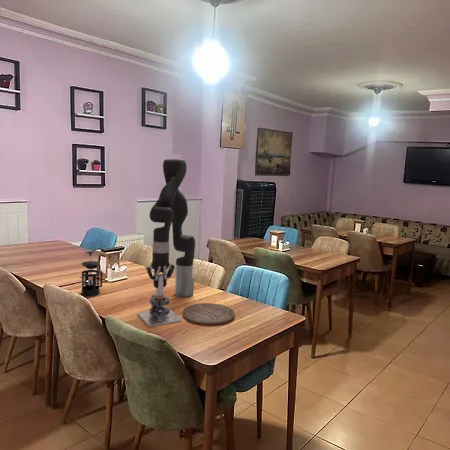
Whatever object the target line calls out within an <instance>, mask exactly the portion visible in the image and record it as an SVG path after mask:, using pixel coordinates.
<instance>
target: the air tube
mask: <svg viewBox="0 0 450 450" xmlns="http://www.w3.org/2000/svg"><path fill="white" fill-rule="evenodd" d="M157 280H158V288H155V289H156V293H155V295H156V301H163V297H165V296H164V290H165V289H164V288H165V287H164V274H162V273H159V276H158V279H157ZM163 307H164V306H160V305H159V306H156V309H163Z"/></svg>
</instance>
